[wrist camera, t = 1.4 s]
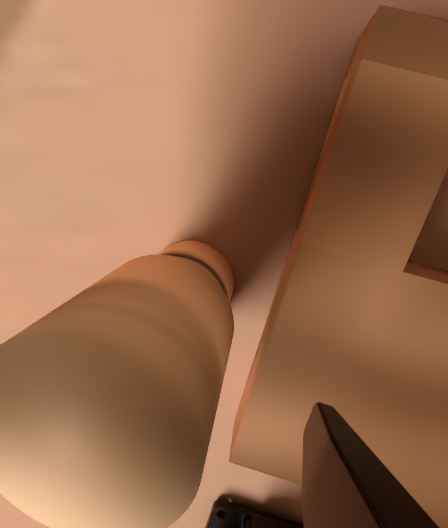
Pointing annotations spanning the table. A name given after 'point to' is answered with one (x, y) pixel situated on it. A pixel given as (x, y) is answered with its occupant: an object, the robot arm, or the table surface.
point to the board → (365, 276)
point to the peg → (118, 394)
